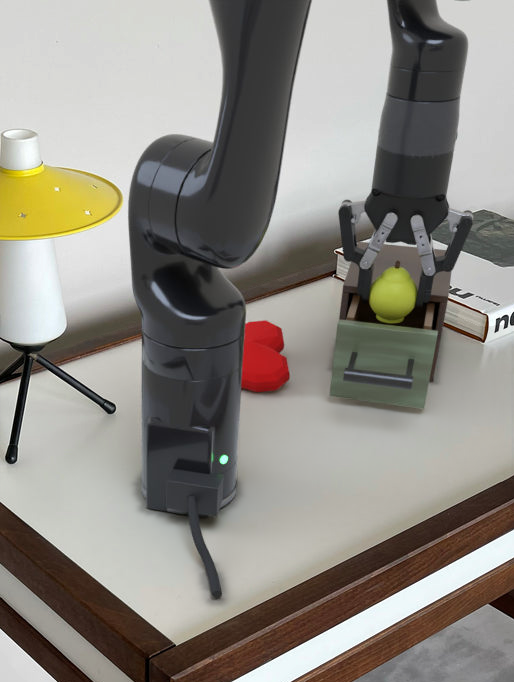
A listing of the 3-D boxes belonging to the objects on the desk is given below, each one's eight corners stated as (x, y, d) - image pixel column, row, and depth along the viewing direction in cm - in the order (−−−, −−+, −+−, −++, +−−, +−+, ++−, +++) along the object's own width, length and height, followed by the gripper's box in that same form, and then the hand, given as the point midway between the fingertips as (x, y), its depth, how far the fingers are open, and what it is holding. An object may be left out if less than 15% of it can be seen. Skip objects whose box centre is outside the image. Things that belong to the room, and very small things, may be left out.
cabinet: (432, 382, 118) (448, 296, 112) (333, 369, 121) (343, 285, 115) (439, 330, 129) (454, 250, 123) (348, 320, 132) (358, 241, 126)
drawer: (420, 434, 106) (434, 358, 101) (321, 420, 109) (330, 346, 104) (431, 356, 121) (443, 286, 116) (344, 345, 124) (352, 277, 119)
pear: (412, 330, 109) (421, 272, 105) (363, 324, 110) (370, 267, 106) (415, 311, 113) (424, 254, 109) (368, 305, 114) (376, 249, 110)
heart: (204, 406, 117) (291, 399, 116) (201, 377, 114) (291, 369, 113) (200, 346, 125) (281, 338, 124) (197, 317, 122) (280, 309, 121)
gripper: (338, 146, 99) (321, 308, 109) (490, 157, 96) (459, 323, 106) (348, 127, 105) (331, 282, 115) (491, 137, 102) (461, 295, 112)
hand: (392, 301), depth 110 cm, fingers closed on pear, 5 cm apart
